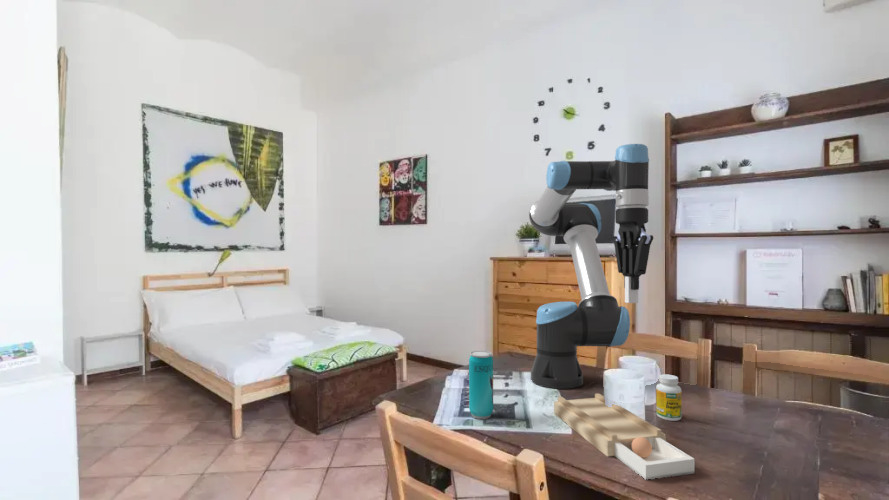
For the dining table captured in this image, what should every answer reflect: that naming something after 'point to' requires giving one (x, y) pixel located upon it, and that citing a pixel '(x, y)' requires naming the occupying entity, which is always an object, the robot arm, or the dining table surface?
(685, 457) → the dish
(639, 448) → the ball
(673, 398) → the supplement bottle
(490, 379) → the beverage can
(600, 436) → the chute
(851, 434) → the dining table surface
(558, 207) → the robot arm
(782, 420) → the dining table surface
